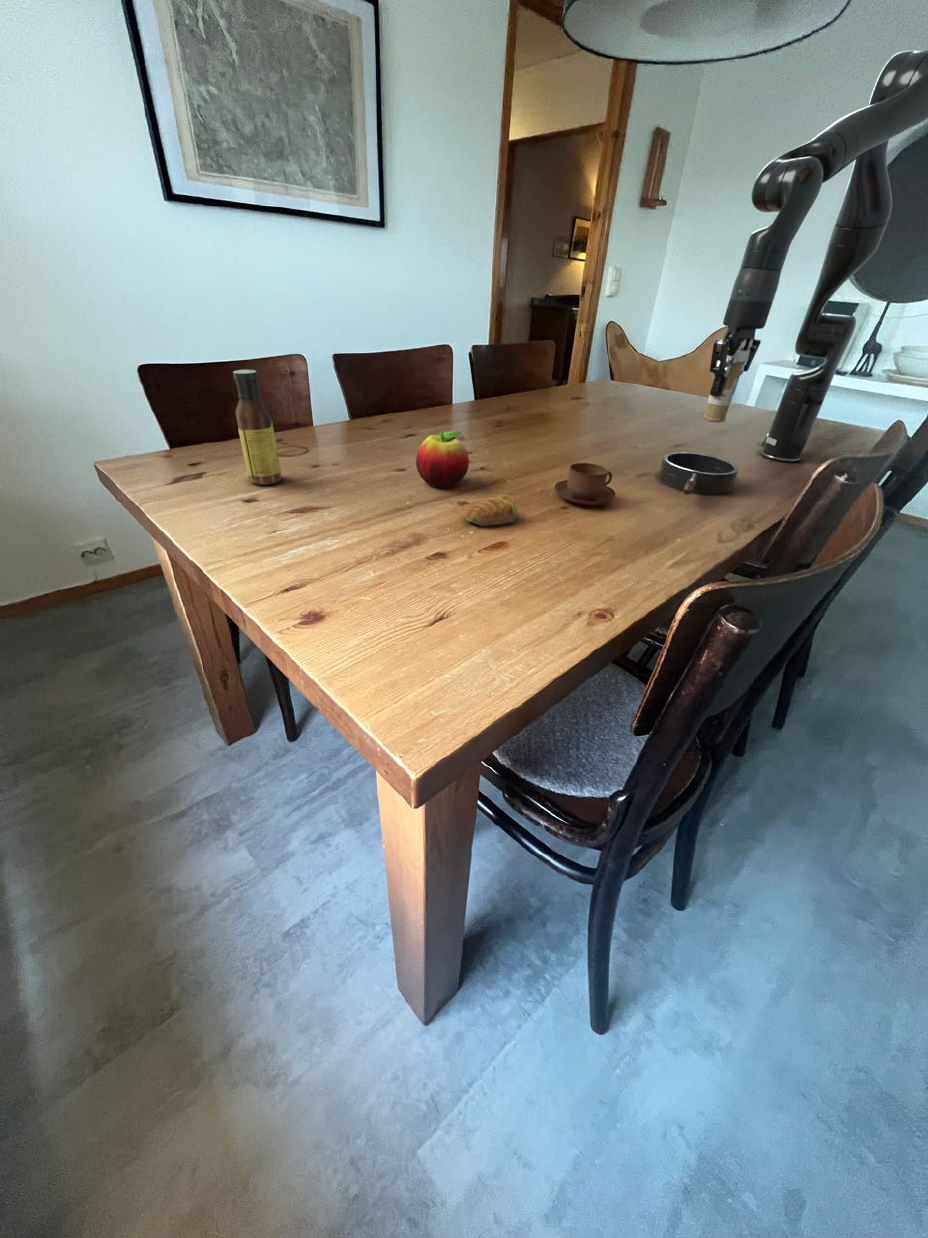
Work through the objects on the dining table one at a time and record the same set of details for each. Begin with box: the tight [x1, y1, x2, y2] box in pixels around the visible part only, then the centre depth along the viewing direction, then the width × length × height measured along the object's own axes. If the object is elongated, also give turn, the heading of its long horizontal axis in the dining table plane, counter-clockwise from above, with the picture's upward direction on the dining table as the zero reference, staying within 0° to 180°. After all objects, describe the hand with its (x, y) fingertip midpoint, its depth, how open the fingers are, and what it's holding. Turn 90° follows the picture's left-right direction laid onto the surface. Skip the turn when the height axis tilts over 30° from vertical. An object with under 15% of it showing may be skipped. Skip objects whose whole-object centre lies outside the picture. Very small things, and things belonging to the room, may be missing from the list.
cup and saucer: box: [554, 462, 616, 506], centre depth 104 cm, size 12×12×6 cm
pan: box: [658, 451, 739, 496], centre depth 117 cm, size 16×16×4 cm
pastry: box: [465, 494, 520, 527], centre depth 93 cm, size 9×7×4 cm
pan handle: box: [682, 473, 699, 496], centre depth 106 cm, size 11×2×2 cm, turn 153°
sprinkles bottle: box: [702, 350, 747, 424], centre depth 107 cm, size 5×5×14 cm
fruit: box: [415, 430, 470, 488], centre depth 106 cm, size 11×11×10 cm
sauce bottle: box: [232, 369, 282, 486], centre depth 98 cm, size 7×6×20 cm
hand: (721, 394), depth 108 cm, fingers closed on sprinkles bottle, 4 cm apart
